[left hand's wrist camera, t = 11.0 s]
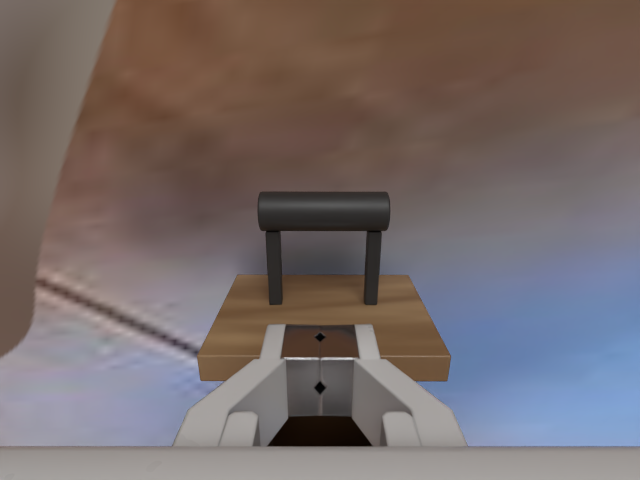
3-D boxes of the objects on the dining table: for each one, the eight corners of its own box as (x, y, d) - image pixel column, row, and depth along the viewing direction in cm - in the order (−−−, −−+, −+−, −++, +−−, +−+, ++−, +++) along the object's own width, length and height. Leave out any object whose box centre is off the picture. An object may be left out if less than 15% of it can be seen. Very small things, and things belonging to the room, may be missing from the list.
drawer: (228, 178, 18) (177, 219, 12) (417, 179, 18) (472, 219, 12) (257, 509, 27) (236, 642, 20) (386, 509, 27) (408, 642, 20)
